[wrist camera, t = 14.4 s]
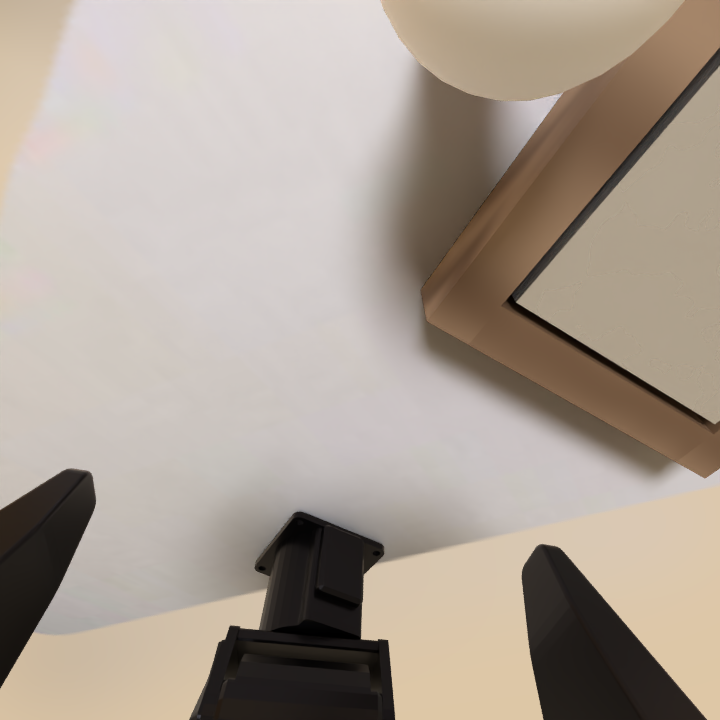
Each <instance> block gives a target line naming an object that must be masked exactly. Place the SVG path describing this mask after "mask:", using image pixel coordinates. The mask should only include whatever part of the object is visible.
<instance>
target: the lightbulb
mask: <svg viewBox="0 0 720 720" xmlns="http://www.w3.org/2000/svg"><path fill="white" fill-rule="evenodd" d="M684 1H685V0H381V3H382V6H383V9H384V11H385V13H386V15H387V16H388V18H389V20H390V22H391V24H392V26H393V28H394V30H395V31H396V33H397V35H398V37H399V39H400V40H401V41H402V42H403V44H404V45H405V46H406V47H407V49H408V50H409V51H410V52H411V53H412V55H413V56H414V57H415V58H416V60H417V61H418V62H419V63H420V64H421V65H422V66H424V67H425V68H426V69H427V70H429V71H430V72H431V73H433V74H434V75H435V76H436V77H438V78H439V79H440V80H441V81H443V82H445V83H447V84H449V85H451V86H453V87H455V88H458V89H460V90H462V91H464V92H466V93H468V94H471V95H474V96H479V97H484V98H489V99H493V100H498V101H530V100H535V99H539V98H543V97H547V96H552V95H556V94H560V93H563V92H565V91H567V90H569V89H571V88H574V87H576V86H578V85H580V84H582V83H585V82H587V81H589V80H591V79H594V78H596V77H598V76H600V75H602V74H603V73H605V72H606V71H608V70H609V69H611V68H612V67H614V66H615V65H617V64H618V63H620V62H621V61H623V60H624V59H626V58H627V57H629V56H630V55H632V54H633V53H634V52H635V51H636V50H637V49H638V48H639V47H640V46H641V45H643V44H644V43H645V42H646V41H647V40H648V39H649V38H650V37H651V36H652V35H653V34H654V33H655V32H657V31H658V30H659V29H660V28H661V27H662V26H663V25H664V24H665V23H666V22H667V21H668V20H669V19H670V18H671V17H672V15H673V14H674V13H675V12H676V10H677V9H678V8H679V7H680V6H681V4H682V3H683V2H684Z"/></svg>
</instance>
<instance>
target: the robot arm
mask: <svg viewBox="0 0 720 720" xmlns="http://www.w3.org/2000/svg"><path fill="white" fill-rule="evenodd" d="M95 504H96V496H95V489H94V482H93V476H92V474H91V473H90V472H89V471H85V470H79V469H66V470H64V471H62V472H60V473H59V474H57V475H56V476H54V477H52V478H51V479H49V480H48V481H46V482H44V483H43V484H41V485H40V486H38V487H36V488H35V489H33V490H32V491H30V492H28V493H27V494H25V495H23V496H22V497H20V498H19V499H17V500H15V501H14V502H12V503H11V504H9V505H7V506H6V507H4V508H3V509H1V510H0V688H1V686H2V685H3V683H4V681H5V679H6V678H7V676H8V674H9V673H10V671H11V669H12V668H13V666H14V664H15V662H16V660H17V659H18V657H19V656H20V654H21V652H22V650H23V649H24V647H25V645H26V644H27V642H28V640H29V638H30V637H31V635H32V633H33V632H34V630H35V628H36V626H37V625H38V623H39V621H40V620H41V618H42V616H43V615H44V613H45V611H46V609H47V608H48V606H49V604H50V603H51V601H52V599H53V597H54V595H55V594H56V592H57V590H58V588H59V586H60V584H61V582H62V580H63V578H64V576H65V573H66V571H67V569H68V567H69V565H70V562H71V560H72V558H73V556H74V553H75V551H76V549H77V547H78V545H79V542H80V540H81V538H82V536H83V534H84V531H85V529H86V527H87V525H88V523H89V520H90V518H91V516H92V514H93V511H94V508H95ZM383 555H384V546H383V545H382V544H380V543H377V542H375V541H372V540H370V539H368V538H365V537H363V536H360V535H358V534H355V533H353V532H350V531H348V530H345V529H343V528H340V527H338V526H336V525H333V524H331V523H328V522H326V521H323V520H321V519H318V518H316V517H313V516H311V515H308V514H306V513H303V512H296V513H294V514H293V515H292V516H291V517H290V519H289V520H288V521H287V522H286V524H285V525H284V526H283V528H282V529H281V530H280V531H279V533H278V534H277V535H276V536H275V538H274V539H273V540H272V542H271V543H270V544H269V545H268V547H267V548H266V549H265V550H264V552H263V553H262V554H261V555H260V557H259V558H258V559H257V561H256V564H255V570H256V571H258V572H260V573H263V574H265V575H268V576H270V579H269V584H268V589H267V593H266V598H265V604H264V608H263V613H262V618H261V623H260V627H259V630H253V629H242V628H240V626H230V627H229V630H228V633H227V637H226V639H225V640H222V641H221V642H219V643H218V647H217V651H216V654H215V658H214V661H213V665H212V668H211V671H210V675H209V677H208V680H207V682H206V684H205V686H204V688H203V691H202V693H201V695H200V697H199V699H198V702H197V704H196V706H195V708H194V710H193V712H192V715H191V717H190V719H189V720H395V712H394V700H393V688H392V677H391V666H390V656H389V645H388V640H382V639H381V640H380V639H378V641H372V640H362V639H361V617H362V602H363V575H364V574H365V573H366V572H367V571H368V570H369V569H370V568H371V567H372V566H373V565H374V564H375V563H376V562H377V561H378V560H379V559H380V558H381V557H382V556H383ZM522 585H523V592H524V593H523V594H524V603H525V612H526V622H527V631H528V640H529V648H530V655H531V661H532V666H533V671H534V675H535V681H536V685H537V690H538V695H539V700H540V705H541V709H542V714H543V719H544V720H707V719H706V718H705V717H704V716H703V715H702V713H701V712H700V711H699V710H698V709H697V707H696V706H695V705H694V704H693V703H692V702H691V700H690V699H689V698H688V697H687V696H686V695H685V693H684V692H683V691H682V690H681V689H680V688H679V686H678V685H677V684H676V683H675V682H674V680H673V679H672V678H671V677H670V676H669V675H668V673H667V672H666V671H665V670H664V669H663V668H662V666H661V665H660V664H659V663H658V662H657V661H656V660H655V658H654V657H653V656H652V655H651V654H650V653H649V651H648V650H647V649H646V648H645V647H644V646H643V644H642V643H641V642H640V641H639V640H638V638H637V637H636V636H635V635H634V634H633V632H632V631H631V630H630V629H629V628H628V627H627V625H626V624H625V623H624V622H623V621H622V620H621V618H619V616H618V615H617V614H616V613H615V611H614V610H613V609H612V608H611V607H610V606H609V604H608V603H607V602H606V601H605V600H604V599H603V597H602V596H601V595H600V594H599V593H598V592H597V590H596V589H595V588H594V587H593V586H592V584H591V583H590V582H589V581H588V580H587V579H586V577H585V576H584V575H583V574H582V573H581V572H580V570H579V569H578V568H577V567H576V566H575V565H574V563H573V562H572V561H571V560H570V559H569V557H568V556H567V555H566V554H565V553H564V552H563V551H562V550H561V549H560V548H558V547H556V546H550V545H544V544H540V545H538V546H537V547H536V548H535V550H534V551H533V553H532V554H531V556H530V557H529V559H528V560H527V562H526V563H525V565H524V567H523V570H522Z"/></svg>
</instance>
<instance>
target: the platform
mask: <svg viewBox="0 0 720 720" xmlns="http://www.w3.org/2000/svg"><path fill="white" fill-rule="evenodd" d="M511 295H512V296H513V298H514V300H515V301H516V303H518V304H519V305H521V306H523V307H524V308H526V309H528V310H529V311H531V312H533V313H534V314H536V315H537V316H539V317H541V318H542V319H544V320H546V321H547V322H549V323H550V324H552V325H554V326H555V327H557V328H559V329H560V330H562V331H564V332H565V333H567V334H568V335H570V336H572V337H573V338H575V339H577V340H578V341H580V342H582V343H583V344H585V345H586V346H588V347H590V348H591V349H593V350H595V351H596V352H598V353H599V354H601V355H603V356H604V357H606V358H608V359H609V360H611V361H613V362H614V363H616V364H617V365H619V366H621V367H622V368H624V369H626V370H627V371H629V372H630V373H632V374H634V375H635V376H637V377H639V378H640V379H642V380H644V381H645V382H647V383H648V384H650V385H652V386H653V387H655V388H657V389H658V390H660V391H662V392H663V393H665V394H666V395H668V396H670V397H671V398H673V399H675V400H676V401H678V402H679V403H681V404H683V405H684V406H686V407H688V408H689V409H691V410H693V411H694V412H696V413H697V414H699V415H701V416H702V417H704V418H706V419H707V420H709V421H711V422H712V423H714V424H716V423H717V422H718V421H720V48H719V49H718V50H717V51H716V52H715V54H714V55H713V56H712V57H711V58H710V59H709V61H708V62H707V63H706V64H705V65H704V67H703V68H702V69H701V70H700V71H699V72H698V74H697V75H696V76H695V77H694V78H693V80H692V81H691V82H690V83H689V84H688V85H687V87H686V88H685V89H684V90H683V91H682V93H681V94H680V95H679V96H678V97H677V98H676V100H675V101H674V102H673V103H672V104H671V106H670V107H669V108H668V109H667V110H666V112H665V113H664V114H663V115H662V116H661V117H660V119H659V120H658V121H657V122H656V123H655V125H654V126H653V127H652V128H651V129H650V130H649V132H648V133H647V134H646V135H645V136H644V138H643V139H642V140H641V141H640V142H639V143H638V145H637V146H636V147H635V148H634V149H633V151H632V152H631V153H630V154H629V155H628V156H627V158H626V159H625V160H624V161H623V162H622V164H621V165H620V166H619V167H618V168H617V169H616V171H615V172H614V173H613V174H612V175H611V177H610V178H609V179H608V180H607V181H606V182H605V184H604V185H603V186H602V187H601V188H600V190H599V191H598V192H597V193H596V194H595V195H594V197H593V198H592V199H591V200H590V201H589V203H588V204H587V205H586V206H585V207H584V209H583V210H582V211H581V212H580V213H579V214H578V216H577V217H576V218H575V219H574V220H573V222H572V223H571V224H570V225H569V226H568V227H567V229H566V230H565V231H564V232H563V233H562V235H561V236H560V237H559V238H558V239H557V240H556V242H555V243H554V244H553V245H552V246H551V248H550V249H549V250H548V251H547V252H546V253H545V255H544V256H543V257H542V258H541V259H540V261H539V262H538V263H537V264H536V265H535V266H534V268H533V269H532V270H531V271H530V272H529V274H528V275H527V276H526V277H525V278H524V279H523V281H522V282H521V283H520V284H519V285H518V287H517V288H516V289H515V290H514V291H513V293H512V294H511Z"/></svg>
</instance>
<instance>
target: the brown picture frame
mask: <svg viewBox="0 0 720 720" xmlns="http://www.w3.org/2000/svg"><path fill="white" fill-rule="evenodd" d="M719 48H720V0H685V1H684V2H683V3H682V4H681V6H680V7H679V8H678V9H677V10H676V12H675V13H674V14H673V15H672V17H671V18H670V19H669V20H668V21H667V22H666V23H665V24H664V25H663V26H662V27H661V28H660V29H659V30H658V31H657V32H655V33H654V34H653V35H652V36H651V37H650V38H649V39H648V40H647V41H646V42H645V43H644V44H643V45H641V46H640V47H639V48H638V49H637V50H636V51H635V52H634V53H633V54H632V55H630V56H629V57H627V58H626V59H624V60H623V61H621V62H620V63H618V64H617V65H615V66H614V67H612V68H611V69H609V70H608V71H606V72H605V73H603V74H602V75H600V76H598V77H596V78H594V79H591V80H589V81H587V82H585V83H582V84H580V85H578V86H576V87H574V88H571V89H569V90H567V91H565V92H564V93H563V94H562V95H561V97H560V98H559V99H558V101H557V102H556V104H555V105H554V106H553V108H552V109H551V110H550V112H549V113H548V115H547V116H546V117H545V119H544V120H543V122H542V123H541V124H540V126H539V127H538V128H537V130H536V131H535V133H534V134H533V135H532V137H531V138H530V139H529V141H528V142H527V144H526V145H525V146H524V148H523V149H522V151H521V152H520V153H519V155H518V156H517V157H516V159H515V160H514V162H513V163H512V164H511V166H510V167H509V168H508V170H507V171H506V173H505V174H504V175H503V177H502V178H501V180H500V181H499V182H498V184H497V185H496V186H495V188H494V189H493V191H492V192H491V193H490V195H489V196H488V197H487V199H486V200H485V202H484V203H483V204H482V206H481V207H480V209H479V210H478V211H477V213H476V214H475V215H474V217H473V218H472V220H471V221H470V222H469V224H468V225H467V226H466V228H465V229H464V231H463V232H462V233H461V235H460V236H459V238H458V239H457V240H456V242H455V243H454V244H453V246H452V247H451V249H450V250H449V251H448V253H447V254H446V255H445V257H444V258H443V260H442V261H441V262H440V264H439V265H438V267H437V268H436V269H435V271H434V272H433V273H432V275H431V276H430V278H429V279H428V280H427V282H426V283H425V284H424V286H423V287H422V289H421V294H422V299H423V304H424V309H425V314H426V320H427V322H429V323H430V324H432V325H434V326H436V327H437V328H439V329H441V330H443V331H445V332H446V333H448V334H450V335H452V336H453V337H455V338H457V339H459V340H461V341H462V342H464V343H466V344H468V345H469V346H471V347H473V348H475V349H476V350H478V351H480V352H482V353H484V354H485V355H487V356H489V357H491V358H492V359H494V360H496V361H498V362H500V363H501V364H503V365H505V366H507V367H508V368H510V369H512V370H514V371H515V372H517V373H519V374H521V375H523V376H524V377H526V378H528V379H530V380H531V381H533V382H535V383H537V384H539V385H540V386H542V387H544V388H546V389H547V390H549V391H551V392H553V393H554V394H556V395H558V396H560V397H562V398H563V399H565V400H567V401H569V402H570V403H572V404H574V405H576V406H578V407H579V408H581V409H583V410H585V411H586V412H588V413H590V414H592V415H593V416H595V417H597V418H599V419H601V420H602V421H604V422H606V423H608V424H609V425H611V426H613V427H615V428H617V429H618V430H620V431H622V432H624V433H625V434H627V435H629V436H631V437H632V438H634V439H636V440H638V441H640V442H641V443H643V444H645V445H647V446H648V447H650V448H652V449H654V450H656V451H657V452H659V453H661V454H663V455H664V456H666V457H668V458H670V459H671V460H673V461H675V462H677V463H679V464H680V465H682V466H684V467H686V468H687V469H689V470H691V471H693V472H695V473H696V474H698V475H700V476H702V477H703V478H707V477H708V476H709V475H711V474H712V473H714V472H715V471H717V470H718V469H719V468H720V421H718V422H717V423H716V424H714V423H712V422H711V421H709V420H707V419H706V418H704V417H702V416H701V415H699V414H697V413H696V412H694V411H693V410H691V409H689V408H688V407H686V406H684V405H683V404H681V403H679V402H678V401H676V400H675V399H673V398H671V397H670V396H668V395H666V394H665V393H663V392H662V391H660V390H658V389H657V388H655V387H653V386H652V385H650V384H648V383H647V382H645V381H644V380H642V379H640V378H639V377H637V376H635V375H634V374H632V373H630V372H629V371H627V370H626V369H624V368H622V367H621V366H619V365H617V364H616V363H614V362H613V361H611V360H609V359H608V358H606V357H604V356H603V355H601V354H599V353H598V352H596V351H595V350H593V349H591V348H590V347H588V346H586V345H585V344H583V343H582V342H580V341H578V340H577V339H575V338H573V337H572V336H570V335H568V334H567V333H565V332H564V331H562V330H560V329H559V328H557V327H555V326H554V325H552V324H550V323H549V322H547V321H546V320H544V319H542V318H541V317H539V316H537V315H536V314H534V313H533V312H531V311H529V310H528V309H526V308H524V307H523V306H521V305H519V304H518V303H516V301H515V300H514V298H513V296H512V295H511V294H512V293H513V291H514V290H515V289H516V288H517V287H518V285H519V284H520V283H521V282H522V281H523V279H524V278H525V277H526V276H527V275H528V274H529V272H530V271H531V270H532V269H533V268H534V266H535V265H536V264H537V263H538V262H539V261H540V259H541V258H542V257H543V256H544V255H545V253H546V252H547V251H548V250H549V249H550V248H551V246H552V245H553V244H554V243H555V242H556V240H557V239H558V238H559V237H560V236H561V235H562V233H563V232H564V231H565V230H566V229H567V227H568V226H569V225H570V224H571V223H572V222H573V220H574V219H575V218H576V217H577V216H578V214H579V213H580V212H581V211H582V210H583V209H584V207H585V206H586V205H587V204H588V203H589V201H590V200H591V199H592V198H593V197H594V195H595V194H596V193H597V192H598V191H599V190H600V188H601V187H602V186H603V185H604V184H605V182H606V181H607V180H608V179H609V178H610V177H611V175H612V174H613V173H614V172H615V171H616V169H617V168H618V167H619V166H620V165H621V164H622V162H623V161H624V160H625V159H626V158H627V156H628V155H629V154H630V153H631V152H632V151H633V149H634V148H635V147H636V146H637V145H638V143H639V142H640V141H641V140H642V139H643V138H644V136H645V135H646V134H647V133H648V132H649V130H650V129H651V128H652V127H653V126H654V125H655V123H656V122H657V121H658V120H659V119H660V117H661V116H662V115H663V114H664V113H665V112H666V110H667V109H668V108H669V107H670V106H671V104H672V103H673V102H674V101H675V100H676V98H677V97H678V96H679V95H680V94H681V93H682V91H683V90H684V89H685V88H686V87H687V85H688V84H689V83H690V82H691V81H692V80H693V78H694V77H695V76H696V75H697V74H698V72H699V71H700V70H701V69H702V68H703V67H704V65H705V64H706V63H707V62H708V61H709V59H710V58H711V57H712V56H713V55H714V54H715V52H716V51H717V50H718V49H719Z"/></svg>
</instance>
